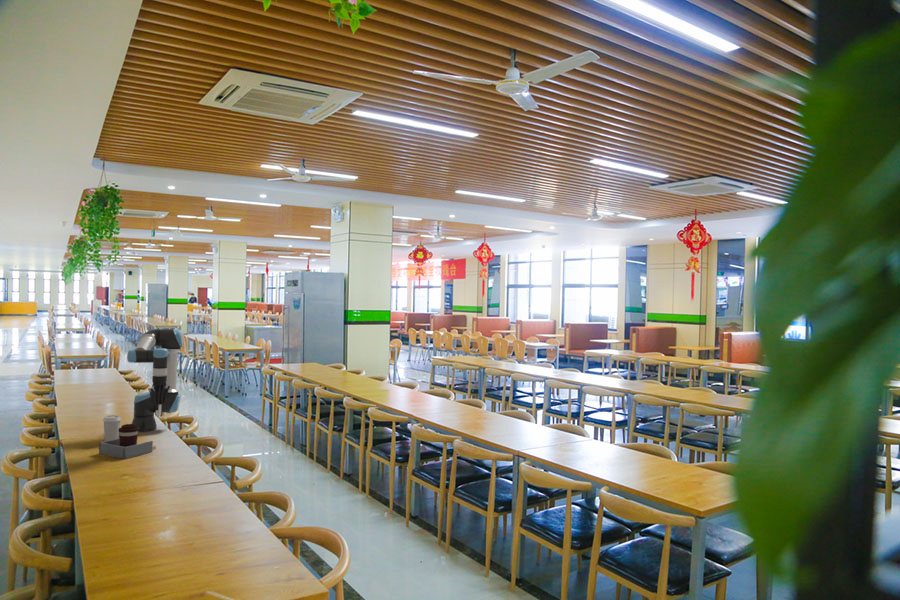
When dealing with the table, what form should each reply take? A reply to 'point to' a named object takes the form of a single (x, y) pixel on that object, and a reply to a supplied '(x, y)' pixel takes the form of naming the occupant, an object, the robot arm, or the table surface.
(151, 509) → the table surface
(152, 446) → the board
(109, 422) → the coffee cup
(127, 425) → the coffee cup
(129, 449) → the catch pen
